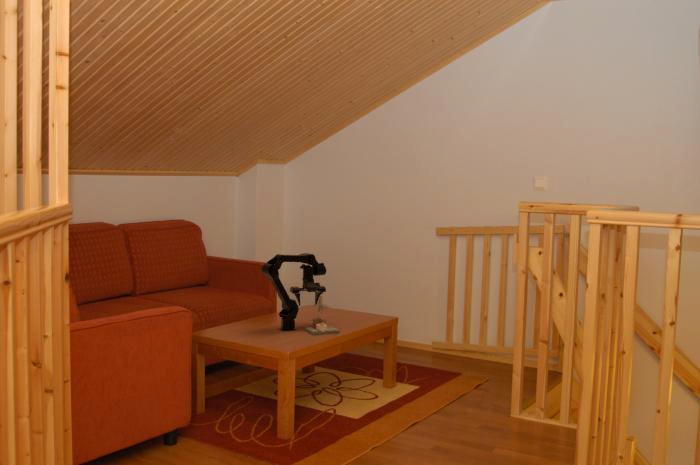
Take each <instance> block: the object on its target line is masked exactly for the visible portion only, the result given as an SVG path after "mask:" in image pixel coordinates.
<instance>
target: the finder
mask: <svg viewBox="0 0 700 465" xmlns="http://www.w3.org/2000/svg"><path fill="white" fill-rule="evenodd" d="M327 326H328V325H326V324H325V323H322V324H321V323H319V324H316V329H317V330H319V331H323V330H327Z"/></svg>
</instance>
